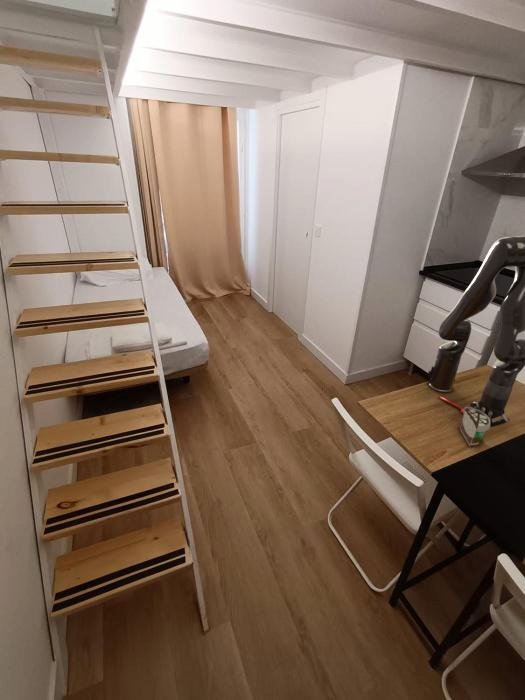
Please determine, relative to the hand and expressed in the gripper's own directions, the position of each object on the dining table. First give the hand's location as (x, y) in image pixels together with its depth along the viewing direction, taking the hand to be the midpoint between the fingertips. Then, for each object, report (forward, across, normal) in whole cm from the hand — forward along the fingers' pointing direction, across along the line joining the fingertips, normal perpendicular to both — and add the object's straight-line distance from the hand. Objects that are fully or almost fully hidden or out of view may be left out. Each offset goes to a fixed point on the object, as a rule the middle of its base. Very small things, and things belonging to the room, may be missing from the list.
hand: (481, 430), depth 123 cm
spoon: (+2, +15, -8) cm, 17 cm away
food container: (+2, 0, +5) cm, 5 cm away
